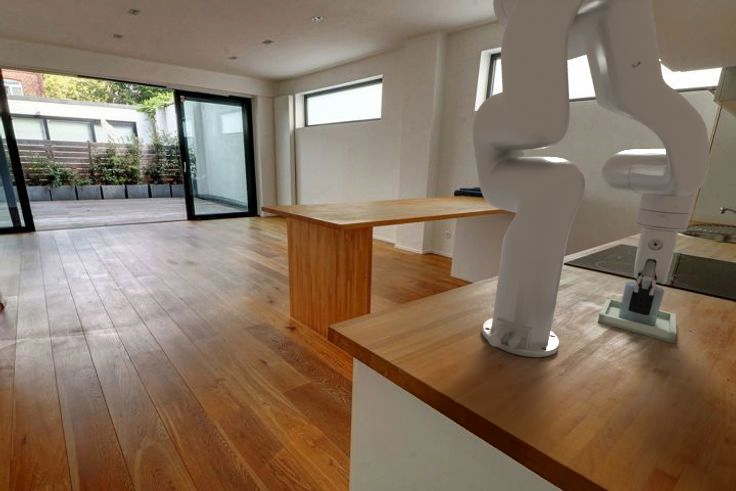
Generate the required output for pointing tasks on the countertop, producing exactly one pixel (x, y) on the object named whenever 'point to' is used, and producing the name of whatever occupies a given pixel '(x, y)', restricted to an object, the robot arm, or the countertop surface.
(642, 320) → the blue grey cylinder
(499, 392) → the countertop surface
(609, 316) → the tray
